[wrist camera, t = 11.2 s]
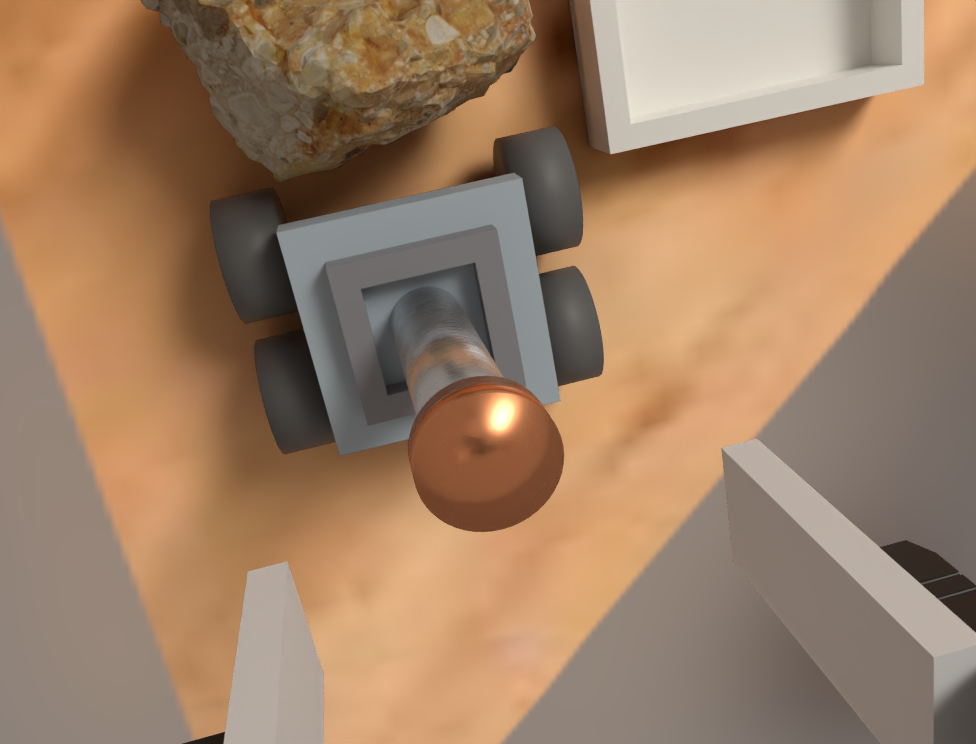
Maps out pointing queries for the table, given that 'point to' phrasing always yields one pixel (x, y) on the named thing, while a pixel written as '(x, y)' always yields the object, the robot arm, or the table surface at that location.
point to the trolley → (399, 269)
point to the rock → (341, 68)
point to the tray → (734, 62)
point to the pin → (470, 421)
